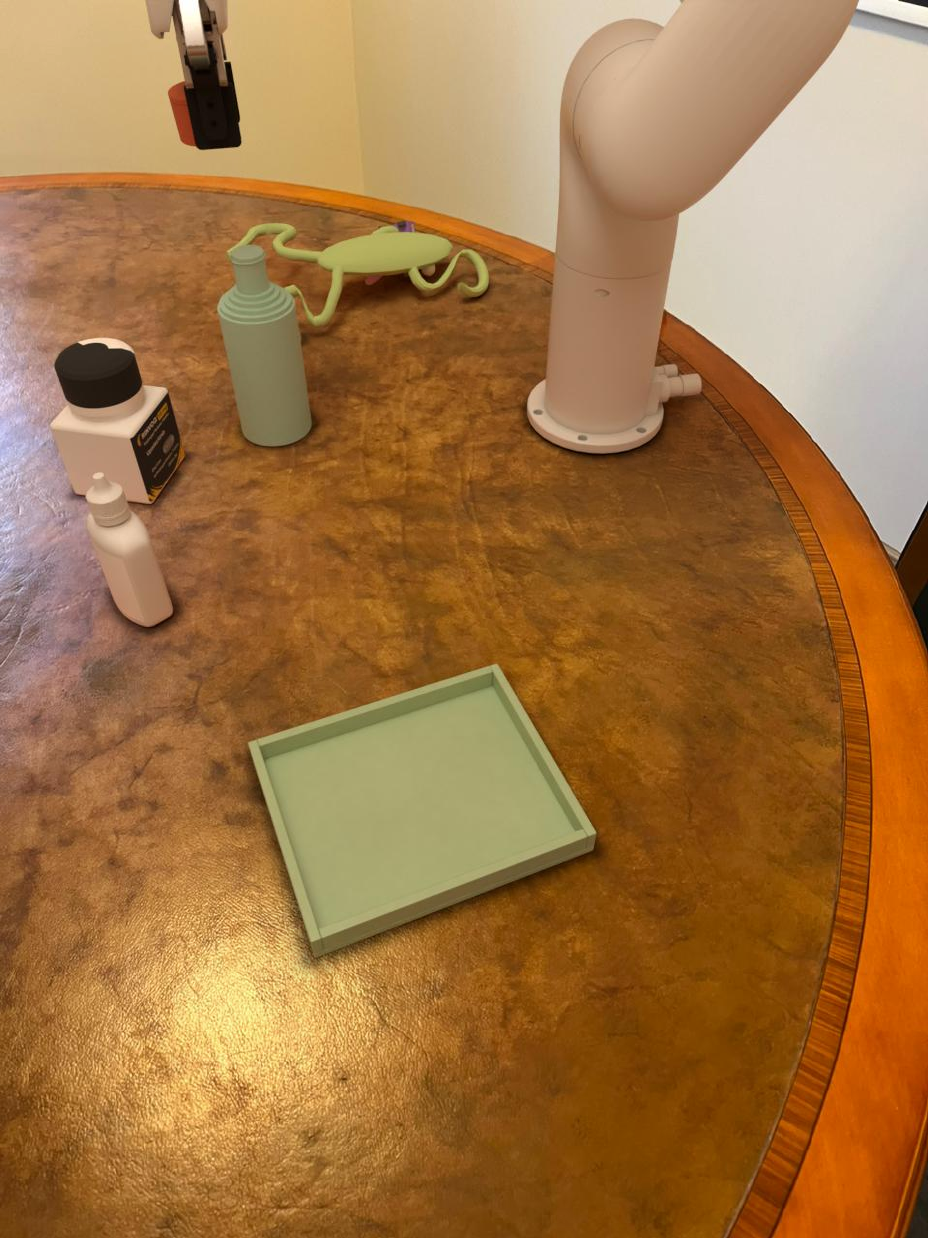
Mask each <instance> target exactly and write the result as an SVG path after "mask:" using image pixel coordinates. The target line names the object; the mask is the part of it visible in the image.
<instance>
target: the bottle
mask: <svg viewBox="0 0 928 1238" xmlns="http://www.w3.org/2000/svg"><path fill="white" fill-rule="evenodd" d="M230 257H231V262H230V263H231V264H232V269H233V273H234V279H235V284H234V285H233V286H231V287H230V289H229V290H227V291H226V292H225V293H223V295H221V297H220V298H219V301H218V304H217V307H216V310H217V311H216V312H217V315H218V320H219V325H220V330H221V335H222V340H223V344H224V345H223V346H224V349H225V355H226V359H227V365H228V369H229V374H230V378H231V379H230V380H231V384H232V389H233V395H234V399H235V404H236V408H237V414H238V418H239V422H240V428H241V432H242V435H243V436H244V438H245V439H246V440H247V441H249V442H251V443H253V444H255V445H258V446H263V447H282V446H287V445H291V444H294V443H296V442H298V441H300V440H302V439H303V438H305V436H307V435H308V434H309V433H310V431H311V429H312V425H313V421H312V414H311V407H310V400H309V393H308V385H307V378H306V371H305V364H304V357H303V349H302V348H303V347H302V340H300V334H301V333H300V334H299V331H300V327H299V320H298V313H297V305H296V300H295V298H294V296H292V295H291V294H290V293H289V292H288V291H287V290H286V289H284V288H285V287H283V286H281V285H278V284H276V283H275V282H272V281H271V280H269V275H268V274H269V273H268V269H267V262H266V252H265V250H264V248H263V247H261V246H259V245H257V244H251V245H242V246H238V247H236V248H234V249H233V250H232V251H231V252H230Z"/></svg>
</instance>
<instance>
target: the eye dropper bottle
mask: <svg viewBox="0 0 928 1238" xmlns="http://www.w3.org/2000/svg"><path fill="white" fill-rule="evenodd" d="M93 483H94V486H92V487H91V488H90V489H89V490H88V491H87V493H86V495H85V500H86V503H87V505H88V508H89V510H90V512H89V514H88V515H87V516H86V530H87V533H88V536H89V538H90V542H91V544H92V547H93V550H94V552H95V554H96V557H97V559H98V562H99V564H100V567H101V570H102V572H103V575H104V578H105V581H106V583H107V586H108V588H109V592H110V593H111V596H112V599H113V601H114V604H115V605H116V607H117V609H118V610H119V612H121V614H122V615H123V616H124V617H125V618H127V619H128V620H130V621H131V622H133V623H135V624H136V625H140V626H142V627H145V628H151V627H154V626H156V625H158V624H160V623H161V622H163V621H165V620H166V619H169V618H170V617H171V616H172V615H173V613H174V608H173V604H172V599H171V597H170V594H169V591H168V587H167V585H166V582H165V579H164V575H163V572H162V569H161V566H160V563H159V559H158V556H157V554H156V551H155V548H154V545H153V542H152V539H151V536H150V533H149V531H148V528H147V527H146V525H145V523H144V522H143V520H142V519H141V518H140V517H139V516H138V515H137V514H136V513H135V512H134V511H132V510H131V509H130V506H129V503H128V501H127V500H126V497H125V494H124V491H123V488H122V486H121V485H119V484H117V483H114V482H108V480H107V479H106V477H105V476H104V474H103V473H96V474H94V475H93Z"/></svg>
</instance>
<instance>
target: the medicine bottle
mask: <svg viewBox="0 0 928 1238" xmlns="http://www.w3.org/2000/svg"><path fill="white" fill-rule="evenodd" d="M53 366H54V370H55V373H56V376H57V379H58V381H59V384H60V388H61V390H62V393H63V395H64V398H65V401H66V406H64V408H63V409H62V410H61V411H60V413H58V414H57V415H56V417H55V418H54V419H53V420H52V421H51V423H50V424H49V429H50V432H51V434H52V437H53V439H54V442H55V444H56V448H57V450H58V453H59V455H60V458H61V460H62V463H63V466H64V468H65V470H66V473H67V476H68V478H69V479H68V480H69V481H70V484H71V487H72V489H73V491H74V493H75V494H76V495H79V496H86V493H87V491H88V490H89V489H90V488H91V487H92V486H94V483H93V475H94V474H96V473H103V474H104V476H105V477H106V479H107V480H108V482H114V483H117V484H119V485H121V486H122V488H123V491H124V494H125V497H126V500H127V502H130V503H140V504H145V505H151V504H153V503H155V500H156V499H157V497H158V496H159V495H160V493H161V492H162V490H163V489H164V488H165V486H166V484H167V483H168V482H169V480H170V479H171V477H172V476H173V474H174V473H175V471H176V470H177V468H178V467H179V465H181V462H182V461H183V460H184V458H185V456H186V453H185V450H184V446H183V443H182V442H183V441H182V439H181V434H180V432H179V427H178V423H177V419H176V415H175V412H174V409H173V408H174V407H173V405H172V401H171V396H170V394H169V393H170V392H169V390H168V388H167V387H164V386H157V385H146V384H144V383H143V379H142V376H141V372H140V368H139V364H138V361H137V358H136V354H135V351H134V349H133V347H131V346H130V345H129V344H127V343H126V342H125V341H122V340H121V339H117V338H112V337H93V338H87V339H83V340H80V341H77V342H75V343H72V344H70V345H68V346H67V347H65V348H64V349H62V350H61V351H60V353H58V355H57V356H56V359H55V361H54V364H53Z"/></svg>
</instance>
